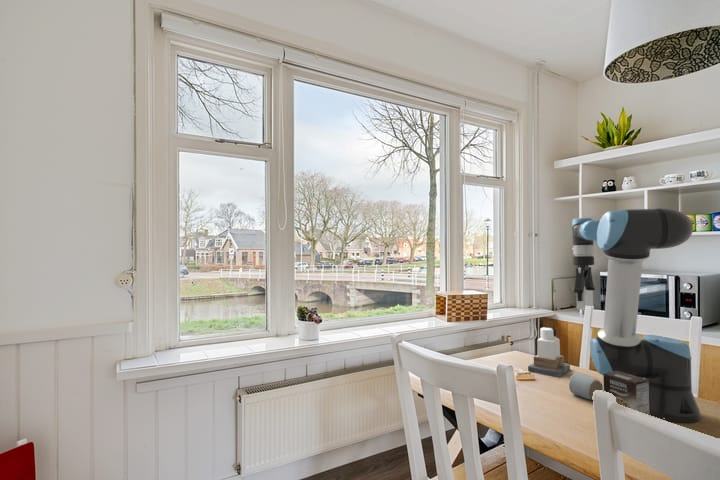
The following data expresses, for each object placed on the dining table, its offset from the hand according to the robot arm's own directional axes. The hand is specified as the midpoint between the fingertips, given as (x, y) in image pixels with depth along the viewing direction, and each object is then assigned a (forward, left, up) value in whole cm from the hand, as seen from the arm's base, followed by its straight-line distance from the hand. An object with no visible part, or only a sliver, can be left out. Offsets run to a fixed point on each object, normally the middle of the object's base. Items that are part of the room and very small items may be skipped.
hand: (585, 307), depth 165 cm
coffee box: (-50, -24, -27) cm, 62 cm away
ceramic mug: (-26, -8, -27) cm, 39 cm away
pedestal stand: (-5, +13, -27) cm, 30 cm away
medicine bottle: (-5, +13, -21) cm, 25 cm away
